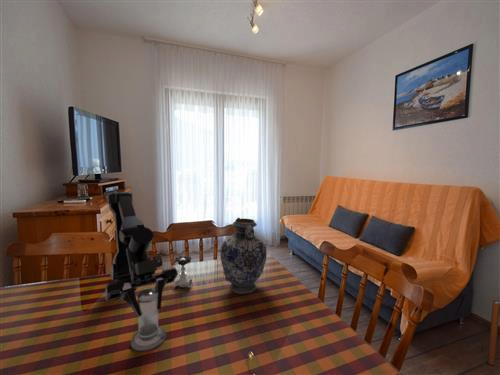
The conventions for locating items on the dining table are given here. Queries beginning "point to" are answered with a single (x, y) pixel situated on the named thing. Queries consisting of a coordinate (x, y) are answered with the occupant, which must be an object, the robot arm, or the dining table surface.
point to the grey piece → (148, 313)
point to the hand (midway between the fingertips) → (149, 312)
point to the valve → (183, 273)
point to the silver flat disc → (148, 341)
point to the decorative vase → (243, 257)
